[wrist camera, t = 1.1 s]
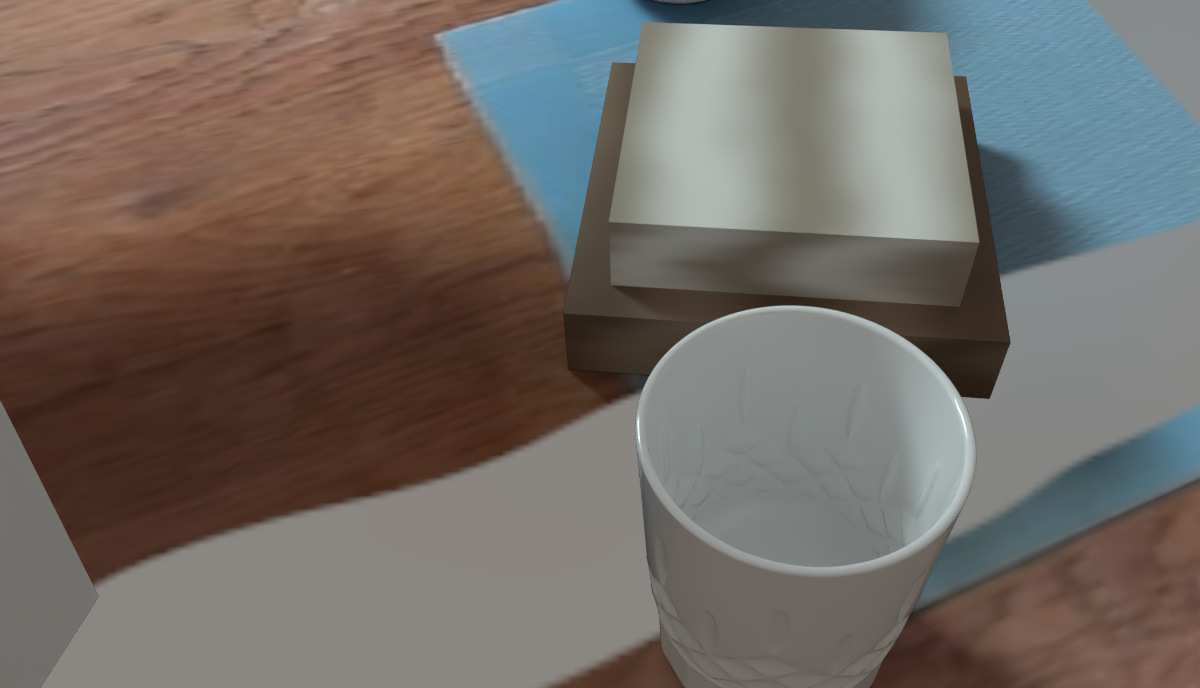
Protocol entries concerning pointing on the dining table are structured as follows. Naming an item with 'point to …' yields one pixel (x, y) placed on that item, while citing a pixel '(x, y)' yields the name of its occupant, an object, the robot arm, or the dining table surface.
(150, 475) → the dining table surface
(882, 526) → the white cup
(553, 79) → the dining table surface
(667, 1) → the lidded jar
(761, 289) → the block stand
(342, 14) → the dining table surface
